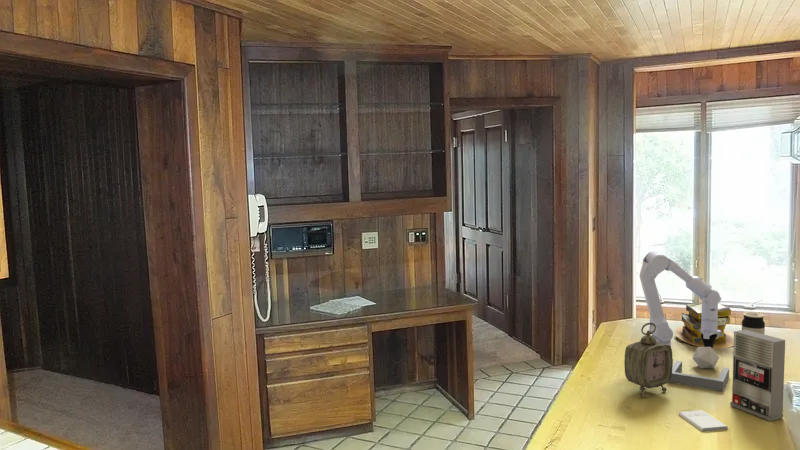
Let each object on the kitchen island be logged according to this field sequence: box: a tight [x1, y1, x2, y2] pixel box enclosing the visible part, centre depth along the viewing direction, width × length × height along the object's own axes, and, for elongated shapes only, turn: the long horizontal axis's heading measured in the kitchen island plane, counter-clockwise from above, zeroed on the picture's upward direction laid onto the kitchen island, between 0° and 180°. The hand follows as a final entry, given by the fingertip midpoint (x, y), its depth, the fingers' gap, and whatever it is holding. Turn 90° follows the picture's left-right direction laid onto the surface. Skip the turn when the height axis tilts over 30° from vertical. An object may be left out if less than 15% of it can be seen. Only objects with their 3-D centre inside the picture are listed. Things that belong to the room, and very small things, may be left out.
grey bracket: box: [668, 360, 730, 392], centre depth 224 cm, size 18×16×4 cm
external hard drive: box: [678, 409, 728, 432], centre depth 189 cm, size 2×8×12 cm
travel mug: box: [741, 311, 766, 335], centre depth 245 cm, size 8×8×18 cm
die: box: [691, 346, 720, 370], centre depth 237 cm, size 8×9×10 cm
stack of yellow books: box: [674, 302, 734, 349], centre depth 271 cm, size 25×25×17 cm
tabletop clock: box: [623, 322, 674, 399], centre depth 212 cm, size 14×9×25 cm, turn 117°
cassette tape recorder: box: [729, 329, 786, 422], centre depth 193 cm, size 14×6×25 cm, turn 23°
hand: (708, 352), depth 243 cm, fingers closed
